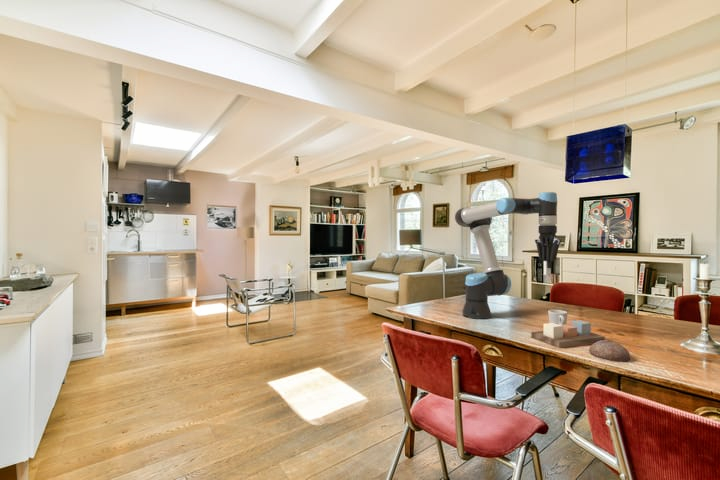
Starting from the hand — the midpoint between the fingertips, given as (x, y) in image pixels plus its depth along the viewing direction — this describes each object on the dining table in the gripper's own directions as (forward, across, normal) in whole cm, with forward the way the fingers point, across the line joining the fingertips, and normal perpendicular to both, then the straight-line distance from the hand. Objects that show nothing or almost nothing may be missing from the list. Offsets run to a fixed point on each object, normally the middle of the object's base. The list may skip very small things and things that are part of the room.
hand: (547, 274), depth 152 cm
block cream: (+24, +15, -12) cm, 31 cm away
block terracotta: (+25, +15, -5) cm, 30 cm away
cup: (+26, +1, +6) cm, 27 cm away
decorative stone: (+26, +34, -6) cm, 43 cm away
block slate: (+24, +15, +3) cm, 28 cm away
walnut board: (+26, +15, -5) cm, 30 cm away
